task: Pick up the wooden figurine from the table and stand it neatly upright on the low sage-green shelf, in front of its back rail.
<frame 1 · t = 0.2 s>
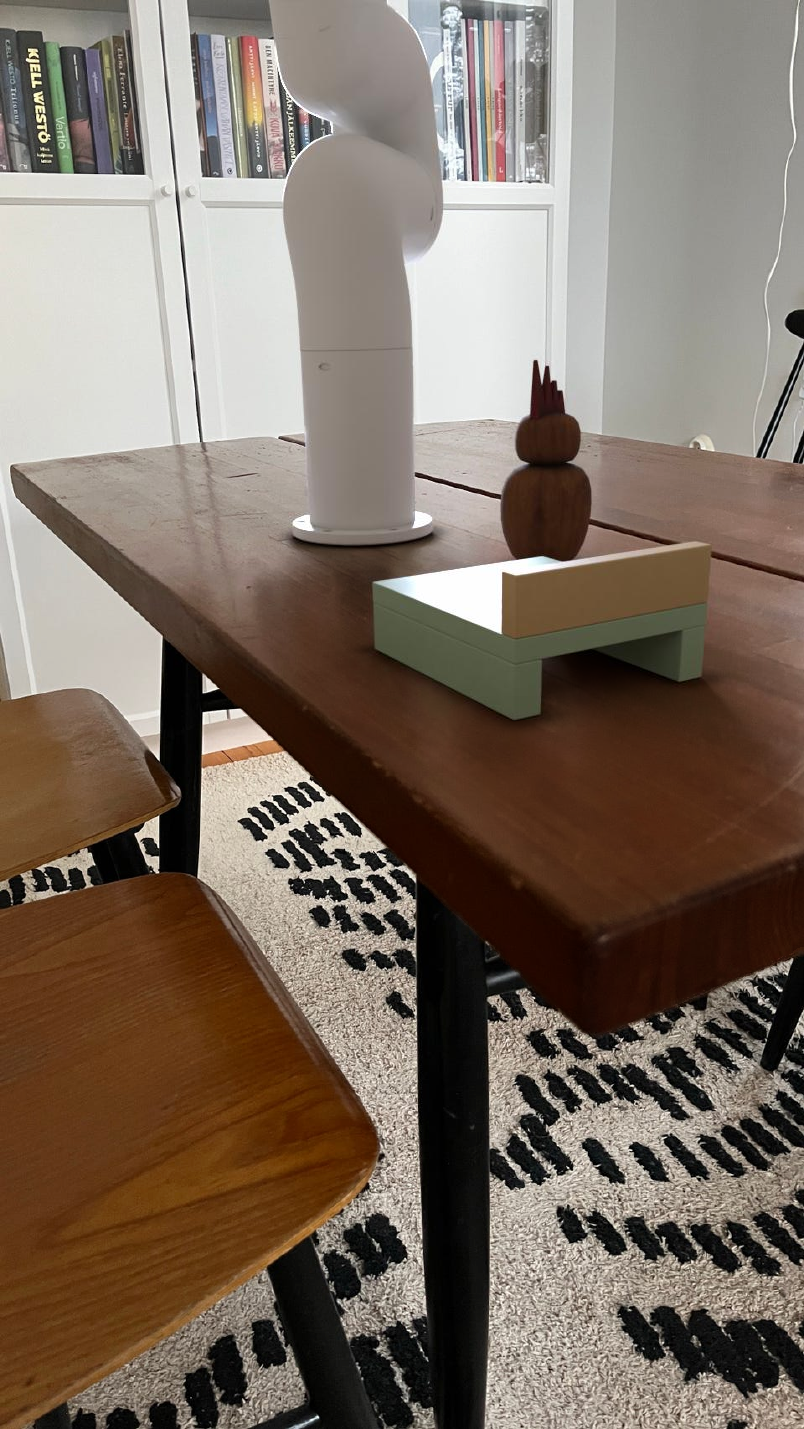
wooden figurine: (544, 564, 82), on the table
shelf: (529, 662, 58), on the table
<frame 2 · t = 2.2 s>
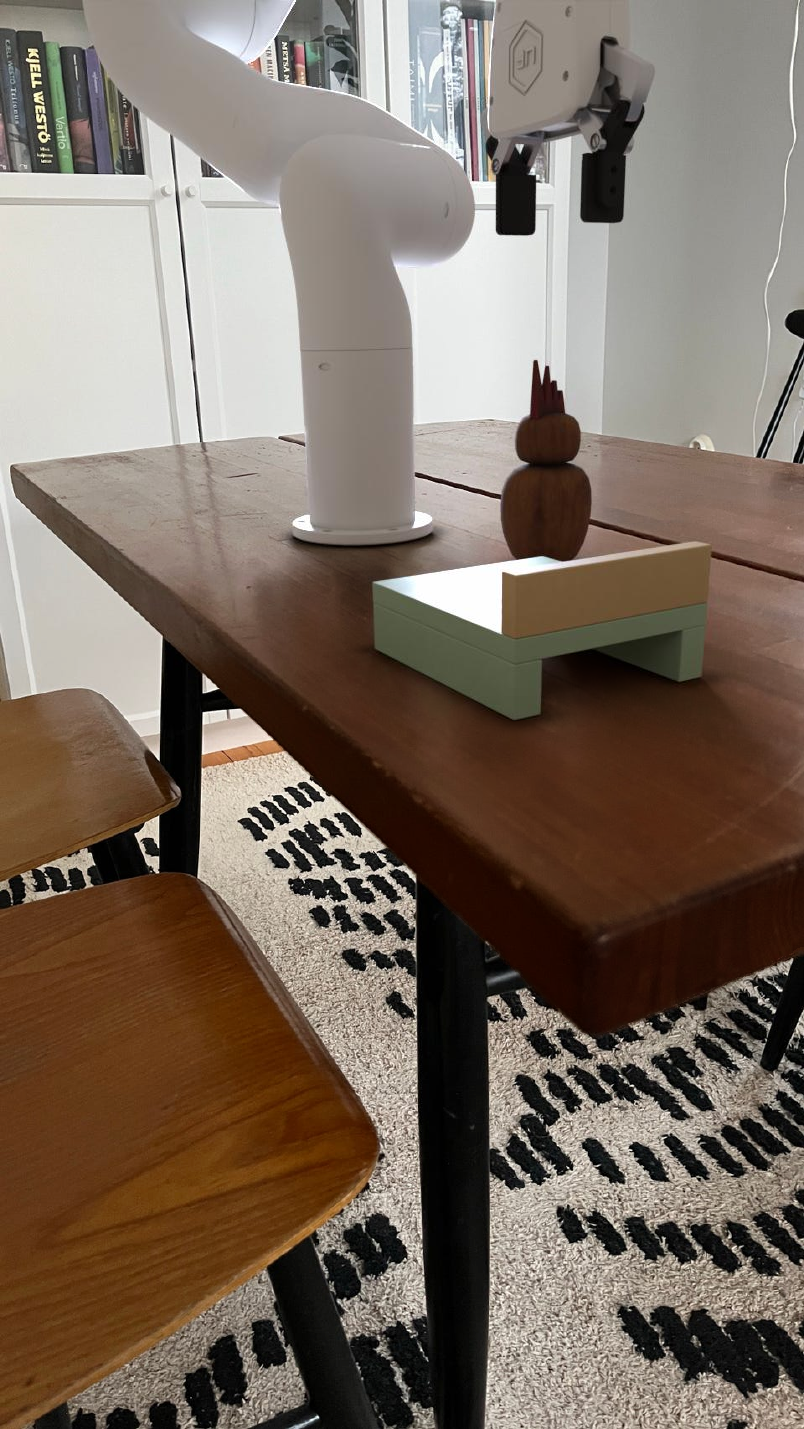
hand: (556, 229, 74), 24 cm above the table, tool pointing down, fingers open, 9 cm apart
nothing on the table moved.
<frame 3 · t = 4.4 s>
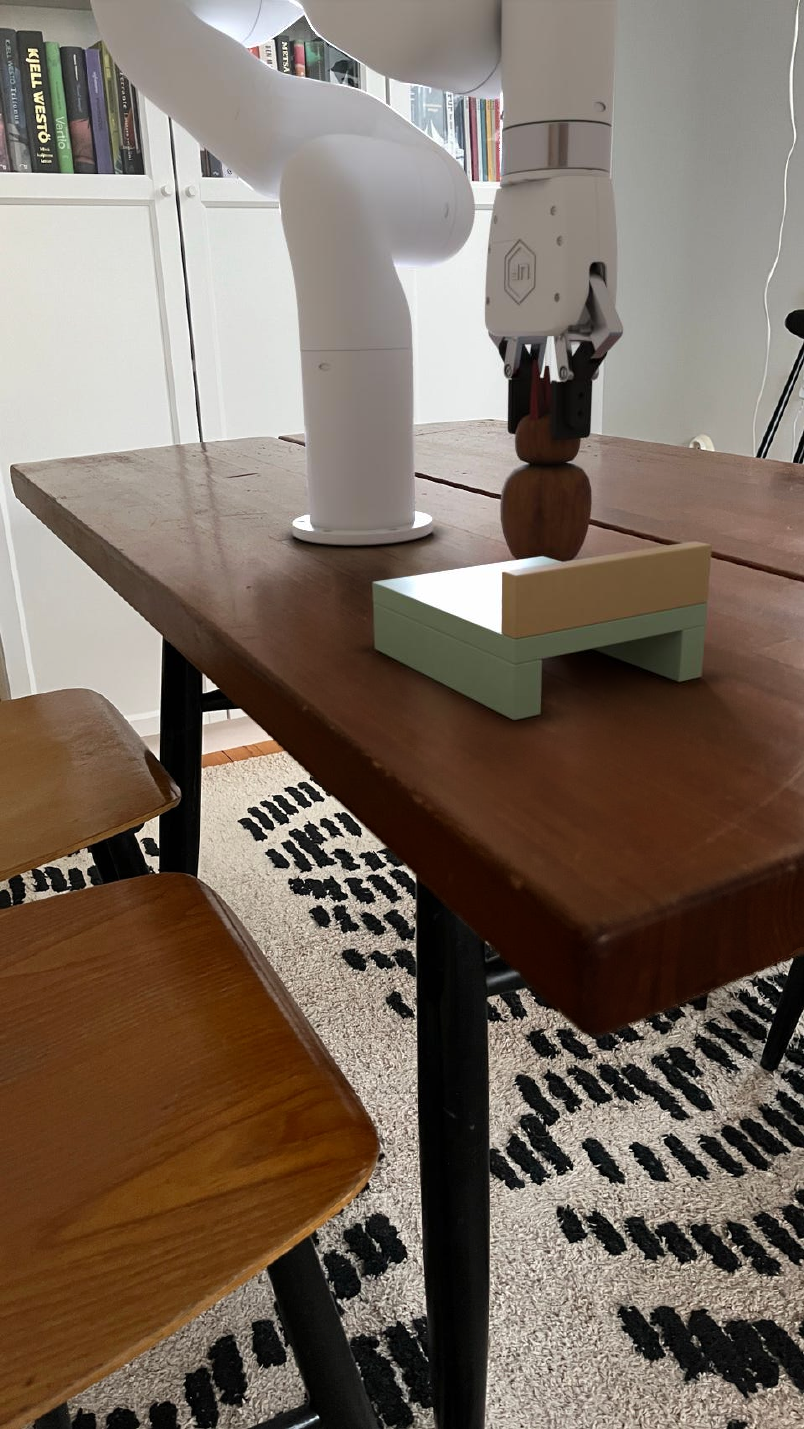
hand: (548, 433, 79), 10 cm above the table, tool pointing down, fingers closed on wooden figurine, 4 cm apart
wooden figurine: (544, 565, 82), on the table, touching gripper
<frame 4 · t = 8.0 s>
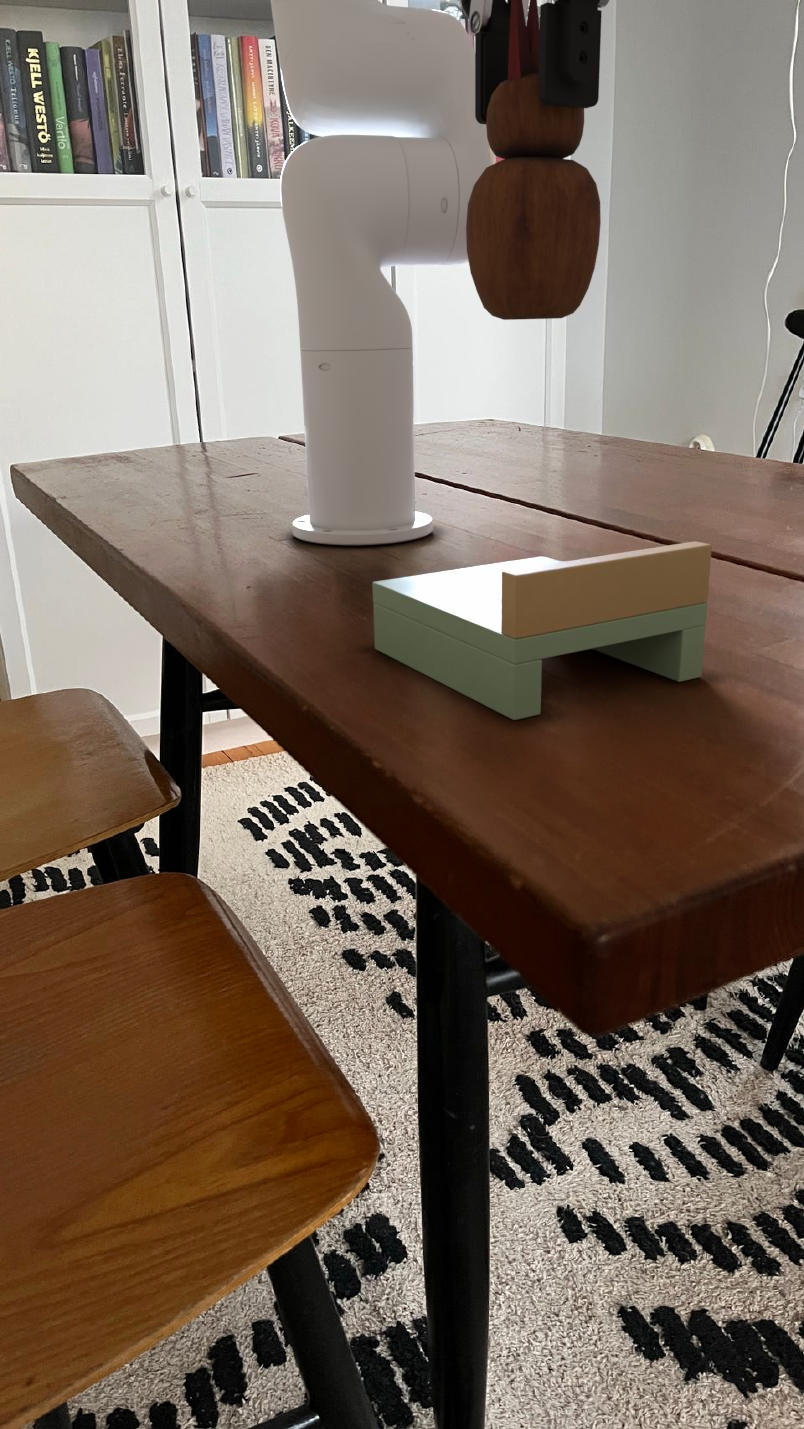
hand: (534, 111, 53), 28 cm above the table, tool pointing down, fingers closed on wooden figurine, 4 cm apart
wooden figurine: (532, 323, 56), point 18 cm above the table, touching gripper
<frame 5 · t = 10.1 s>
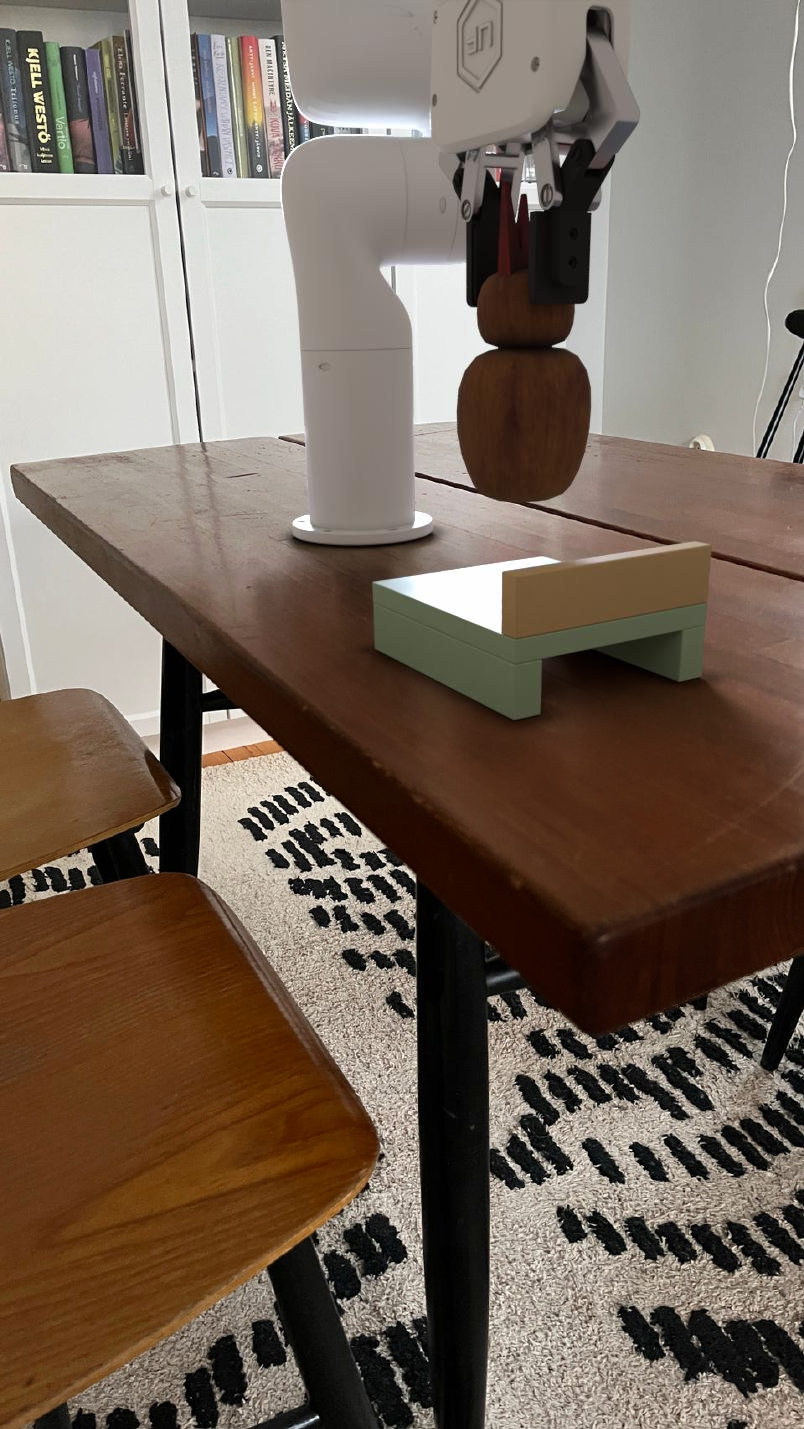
hand: (525, 301, 53), 19 cm above the table, tool pointing down, fingers closed on wooden figurine, 4 cm apart
wooden figurine: (522, 501, 56), point 9 cm above the table, touching gripper
when the fingers open (14 cm above the table, at t = 11.7 s): wooden figurine stays where it is, resting on shelf.
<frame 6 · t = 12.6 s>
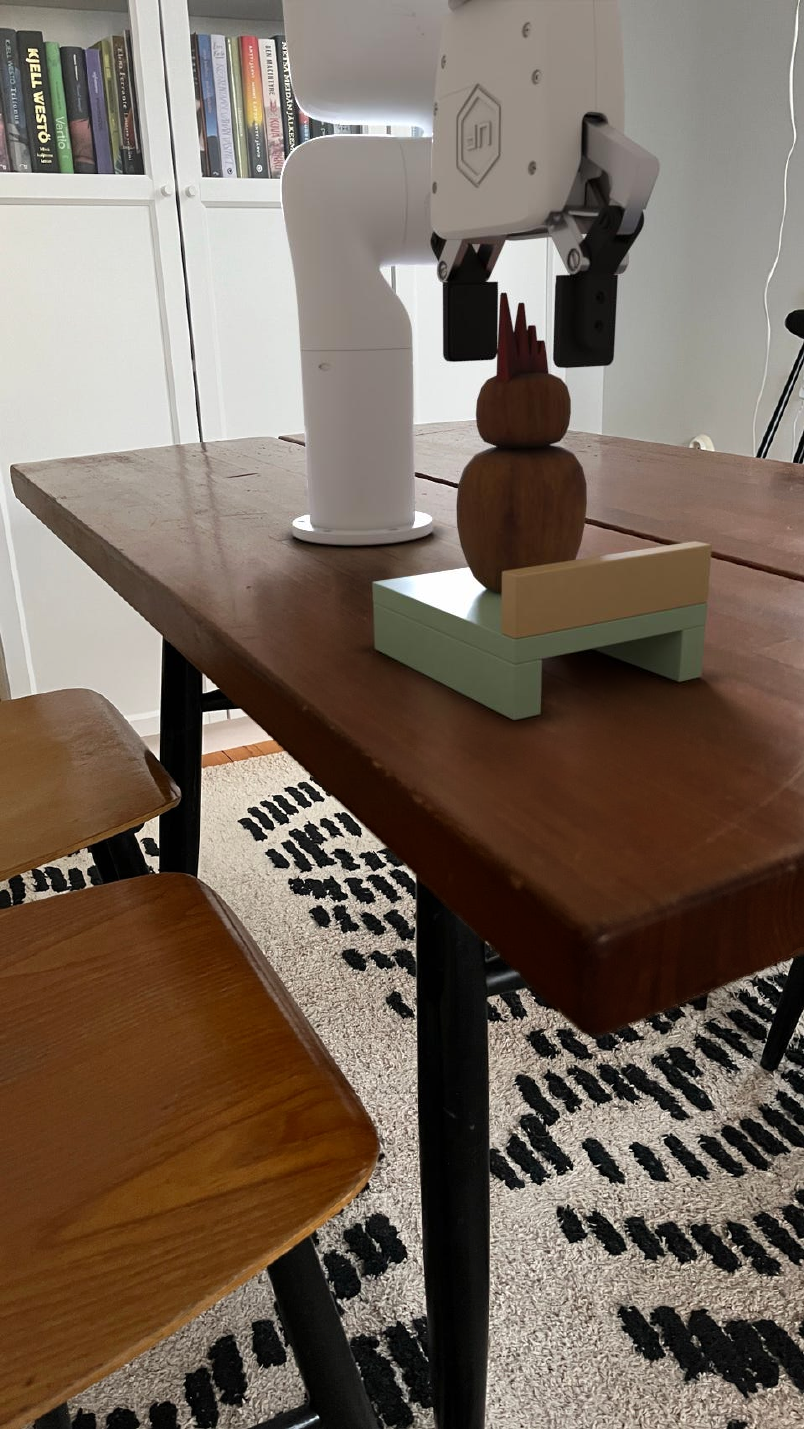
hand: (522, 363, 54), 16 cm above the table, tool pointing down, fingers open, 9 cm apart
wooden figurine: (520, 591, 58), point 4 cm above the table, touching shelf
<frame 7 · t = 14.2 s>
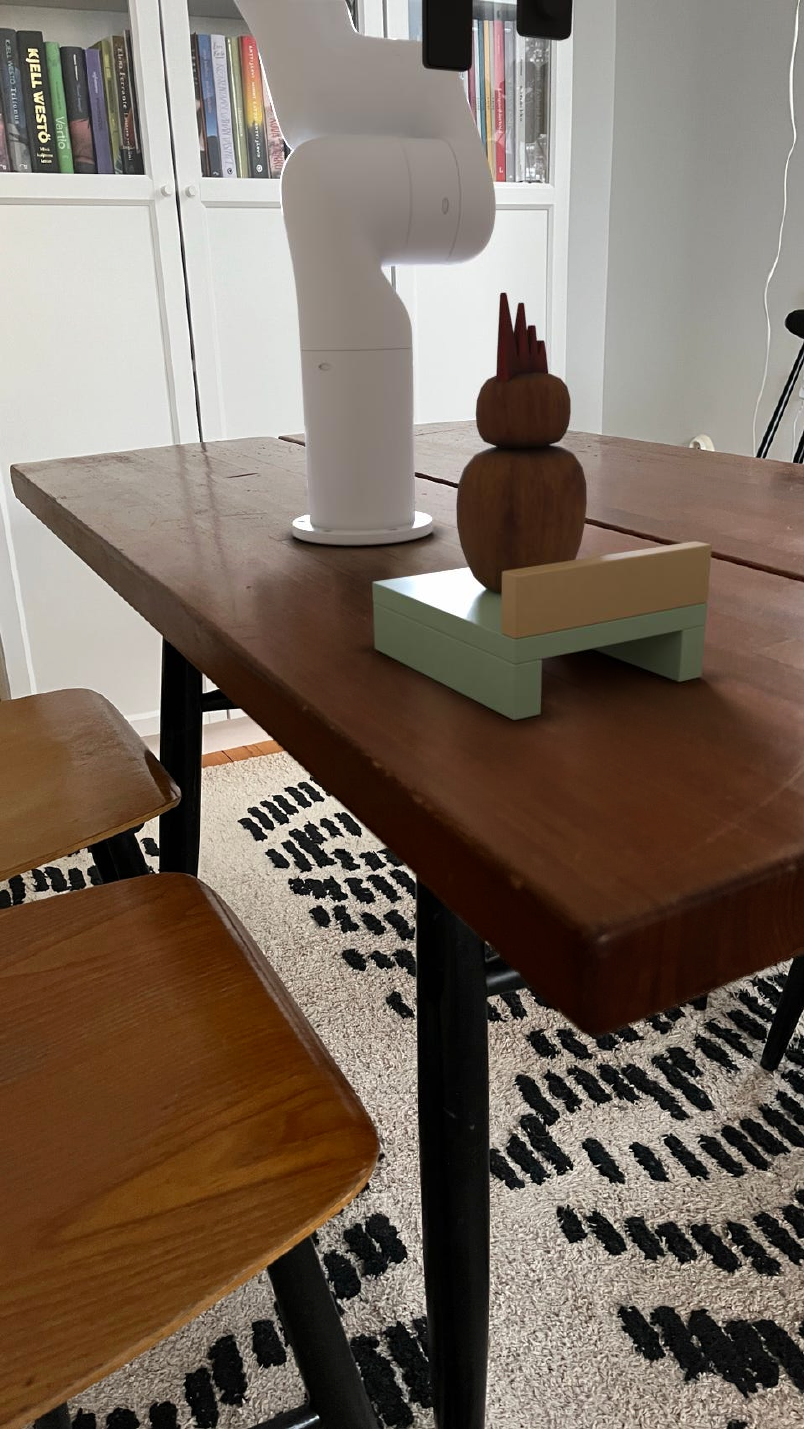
hand: (492, 54, 59), 32 cm above the table, tool pointing down, fingers open, 9 cm apart
nothing on the table moved.
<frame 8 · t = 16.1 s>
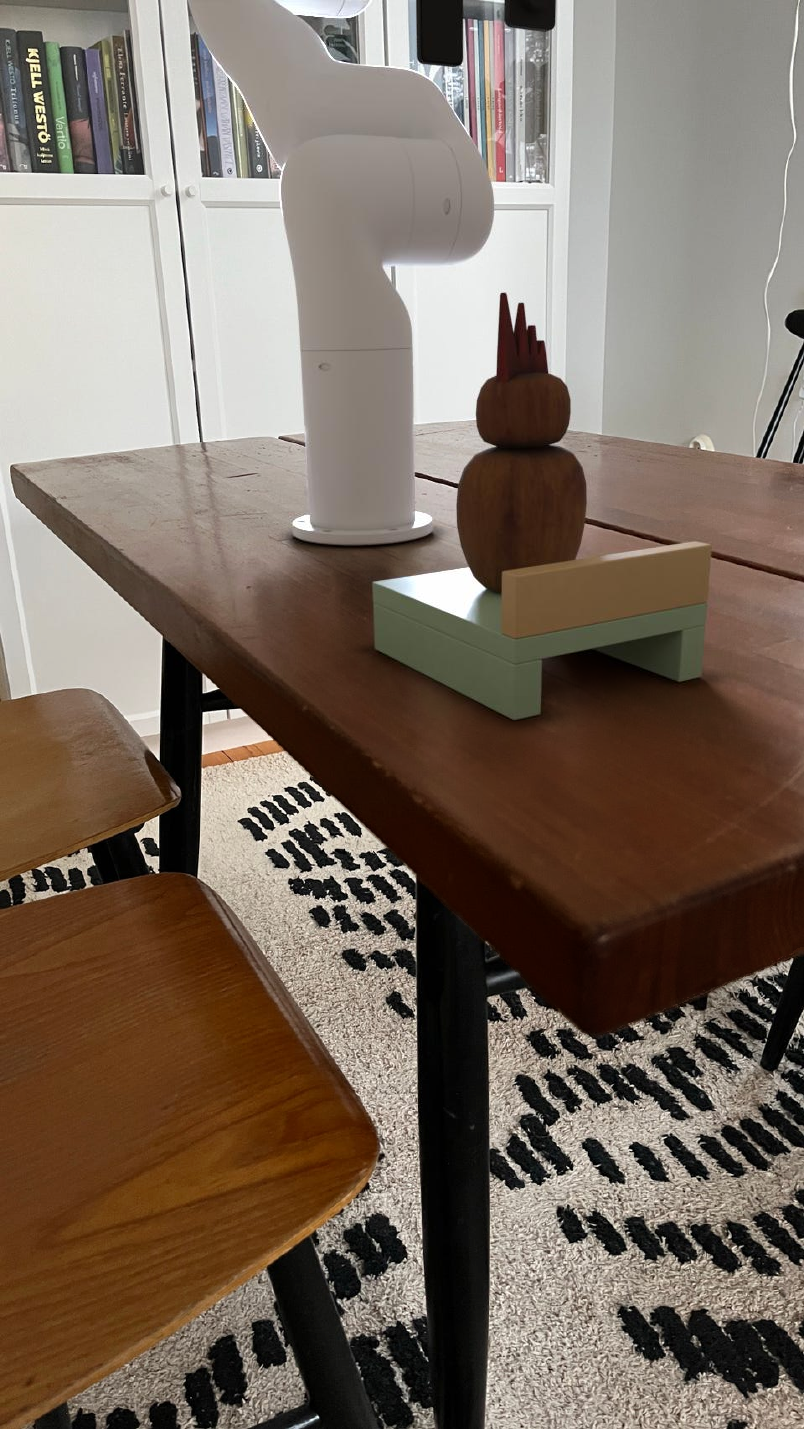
hand: (482, 47, 64), 33 cm above the table, tool pointing down, fingers open, 9 cm apart
nothing on the table moved.
at the end: wooden figurine inside the target area on the shelf (0.9 cm from its centre), point 3.8 cm above the shelf's base; wooden figurine tilted 0°; the gripper is holding nothing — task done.
